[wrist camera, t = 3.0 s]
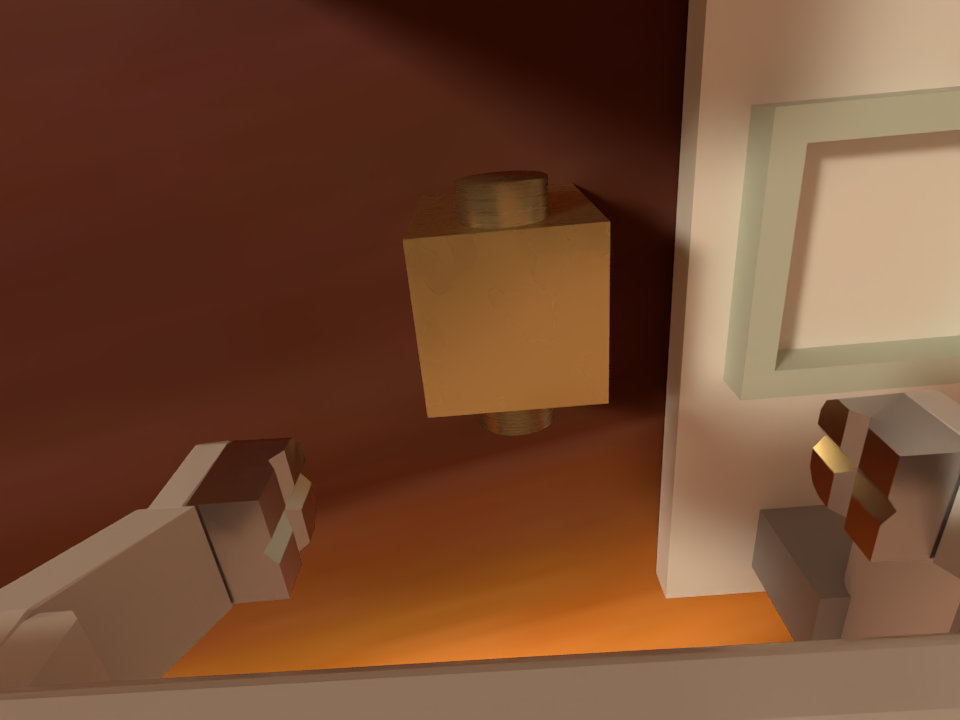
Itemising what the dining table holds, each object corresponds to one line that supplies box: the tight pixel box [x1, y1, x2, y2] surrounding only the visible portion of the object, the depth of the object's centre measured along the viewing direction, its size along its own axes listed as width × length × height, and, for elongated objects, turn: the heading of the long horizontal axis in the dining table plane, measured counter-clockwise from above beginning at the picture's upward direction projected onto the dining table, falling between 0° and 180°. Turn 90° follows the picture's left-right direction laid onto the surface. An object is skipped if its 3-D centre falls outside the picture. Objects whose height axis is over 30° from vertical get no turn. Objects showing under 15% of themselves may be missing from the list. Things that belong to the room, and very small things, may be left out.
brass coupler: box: [403, 171, 610, 436], centre depth 18 cm, size 7×5×6 cm
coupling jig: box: [656, 0, 960, 642], centre depth 17 cm, size 30×12×8 cm, turn 5°
